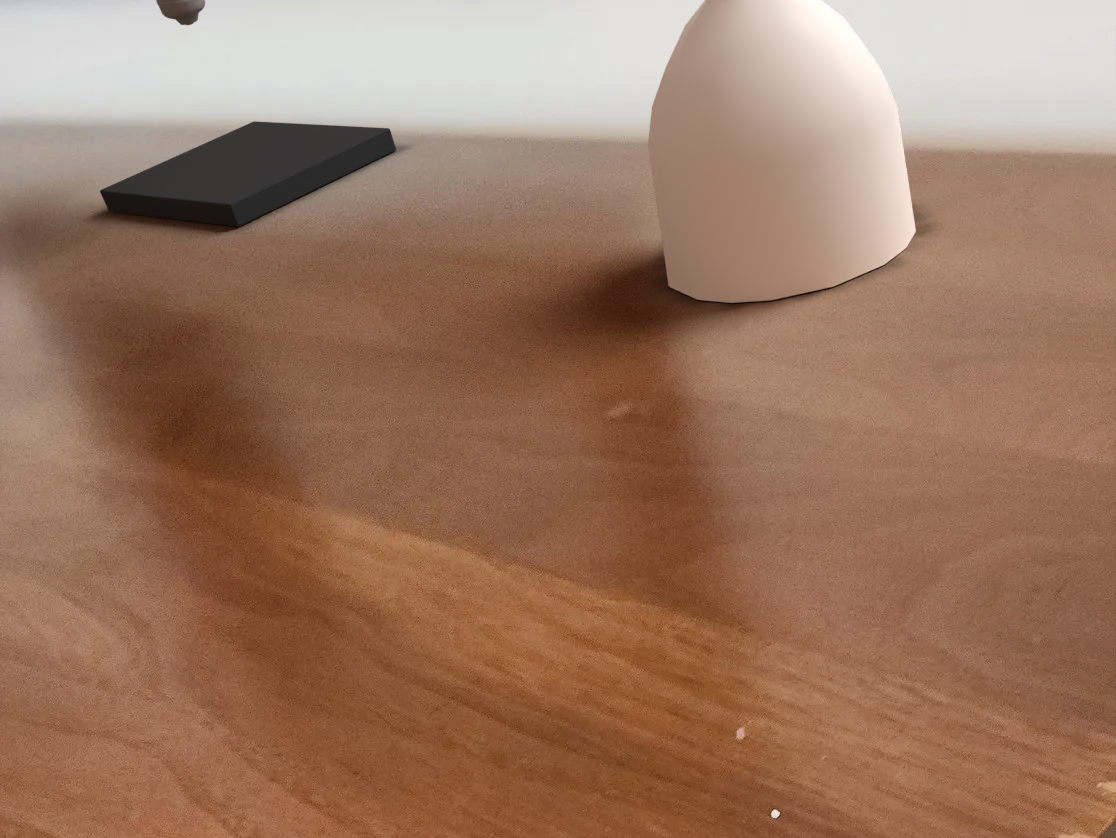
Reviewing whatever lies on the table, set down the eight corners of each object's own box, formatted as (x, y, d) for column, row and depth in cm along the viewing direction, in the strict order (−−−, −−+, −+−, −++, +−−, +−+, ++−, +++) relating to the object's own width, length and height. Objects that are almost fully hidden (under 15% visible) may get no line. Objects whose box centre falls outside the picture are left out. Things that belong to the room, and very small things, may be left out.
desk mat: (108, 211, 88) (98, 190, 87) (261, 141, 93) (254, 120, 92) (238, 227, 80) (229, 204, 79) (397, 150, 86) (390, 127, 85)
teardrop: (859, 182, 67) (823, -140, 58) (958, 247, 59) (933, -114, 50) (635, 251, 66) (565, -67, 57) (705, 326, 58) (637, -29, 49)
